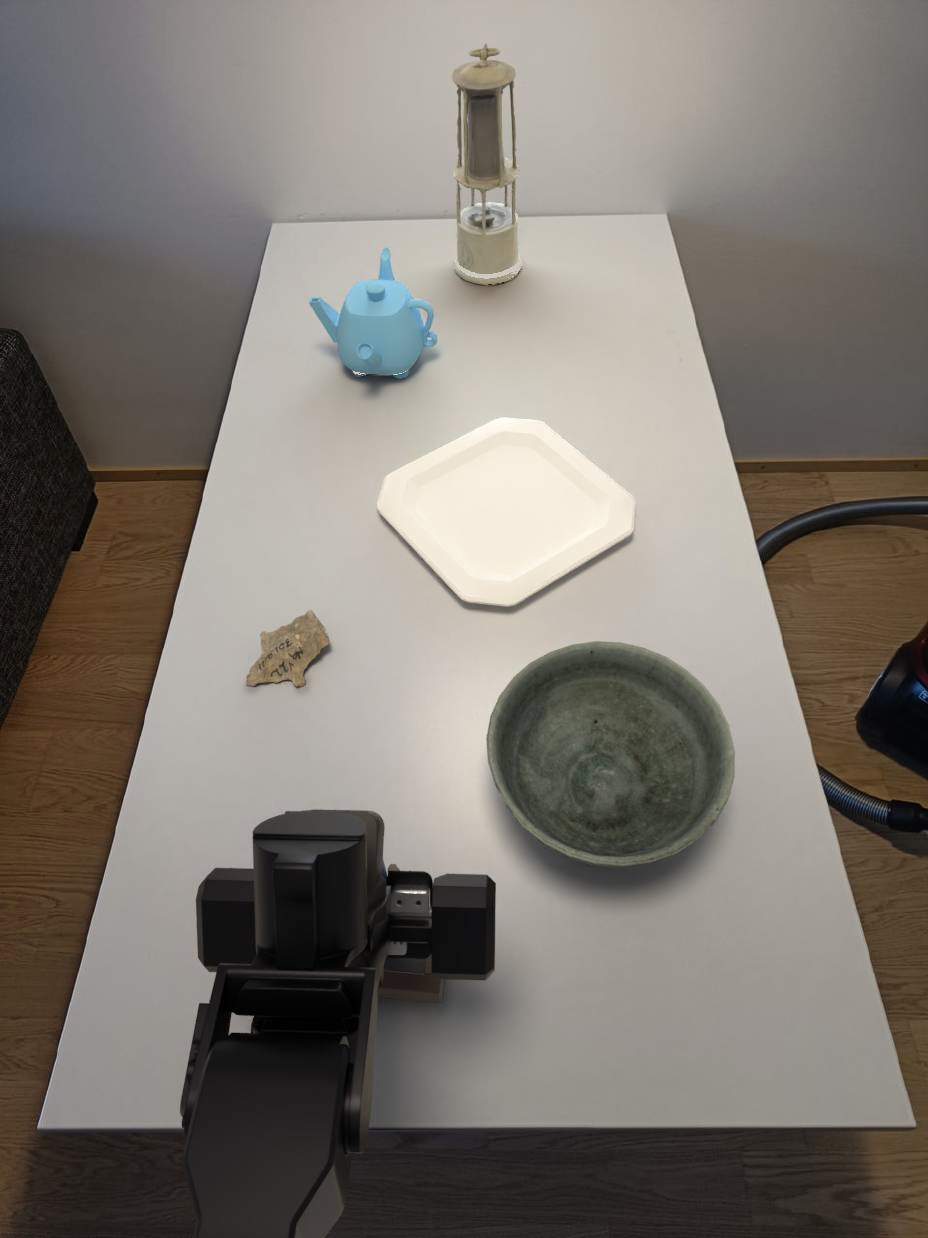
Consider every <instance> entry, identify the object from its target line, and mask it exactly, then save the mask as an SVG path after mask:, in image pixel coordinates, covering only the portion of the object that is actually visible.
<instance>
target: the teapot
mask: <svg viewBox="0 0 928 1238" xmlns="http://www.w3.org/2000/svg"><path fill="white" fill-rule="evenodd" d="M391 259H392V258H391V250H390V249H389V248H388V247H384V248H383V249H382V251H381V253H380V259H379V260H380V263H379V273H378V279H363V280H359V281H358V282H356V283H355V284H354V285H352V287H351V288H350V289H349V291H348V292H347V294H346V296H345V299H344V301H343V304H342V306H341V309H340V313H339V312H338V311H337V310H335V309H334V307H332V306H331V305H330V304H328V303H327V302H326V301H325V300H323V299H322V297H321V296H319V297H318V296H317V297H310V299H309V301H308V304H309V306H310V307H311V309H312V311H313V312H314V314H315V315H316V317H317V319H318V321H320V323H321V324H322V326H323V327H324V329H325V331H326V332H327V334H328V336H329V337H330V339H331V340H332V341H333V343H336V346H337V353H338V356H339V358H340V360H341V362H342V363H343V364H344V365H345V366H346V367H347V369H349V370H350V369H351V370H350V371H352V370H353V371H355V372H360V373H365V374H367V373H368V374H378V375H377V376H389V375H388V374H398V375H392V376H393V378H395V379H398V380H399V379H400V380H401V379H405V378H407V377H408V376H409V374H410V371H409V370H410V369H411V368H412V367H413V366H414V364H415V363H416V362H417V360H418V359H419V357H420V355H421V354H422V352H423V350H424V347H425V348H432V347H435V346H436V345H437V344H438V335H437V334H436V333H435V332H434V331H430V330H431V328H432V325H433V321H434V317H435V314H434V312H435V311H434V307H433V306H432V305H431V303H430V302H428V301H426V300H424V299H422V298H415V297H414V296H413V294H412V292H411V291H410V290H409V289H408V287H407V286H406V285H405V283H403V282H402V281H398V280H395V276H394V273H393V269H392V262H391ZM420 309H422V310H424V311H425V312H426V313H427V316H426V317H427V318H426V321H425V324H424V320H423V318H422V314H421V310H420ZM412 365H413V366H412ZM409 368H410V369H409ZM408 369H409V370H408ZM407 370H408V371H407ZM353 371H352V372H353ZM405 371H406V372H405ZM403 372H404V373H403ZM360 373H359V374H360ZM399 373H402V374H399ZM365 374H361V375H358V374H356V375H357V376H356V377H357V378H361V376H362V375H365ZM380 374H382V375H380ZM365 376H366V375H365Z"/></svg>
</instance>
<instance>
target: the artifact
mask: <svg viewBox="0 0 928 1238" xmlns="http://www.w3.org/2000/svg"><path fill="white" fill-rule="evenodd" d="M259 636H260V650H261V653H260V656H259V658H258V659H257V660H256V662H254V664H253V665H252V666H251V667H250V668H249V671H248V674H247V675H246V677H245V678H246V679H245V680H246V681H245V684H246V686H249V687H255V686H256V685H258V684H265V683H275V684H279V683H280V682H282V681H286V680H290V681H291V683H292V684H293V685H294V686H295V687H296V688H301V687H304V686H305V685H306V678H305V676H304V673H305V670H306V669H307V668H308V666H309V664H310V663H311V662H312V661H313V660H314V659H316V658H317V656H318V655H319V654H320V653H321V650H322V649H324V648H326V647H327V646H329V645H330V644H331V642H330V637H329V636H328V632H327V631H326V628H325V625H324V624H323V623H322V622H321V620H319V618H318V617H317V615H316V614H315V613H314V611H313V610H312V609H308V610H307V612H305V614H303V615H300V616H297V617H295V618H294V619H293V621H292V622H291V623H288V624H286V625H282V626H280V627H279V628H277V629H275V630H274V631H271V632H270V631H269V632H268V631H266V630H264V631H261V632H260V634H259Z"/></svg>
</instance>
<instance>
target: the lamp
mask: <svg viewBox="0 0 928 1238" xmlns="http://www.w3.org/2000/svg"><path fill="white" fill-rule="evenodd" d="M500 54H501V50H500V49H499V48H497V47H488V43H486V42H485V43H484V45H483V47H482V48H478V49H474V50H469V51H468V55H469V57H474V58H479V60H474V61H469V62H466V63H463V64H461V65H458V66H457V67H455V68H454V69H453V71H452V73H451V80H452V82H453V83H454V84H455V86H456V87H457V89H456V94H457V106H458V108H457V109H458V110H457V114H458V115H457V119H456V125H457V134H456V135H457V136H456V141H457V149H458V153H457V157H458V159H457V164H456V165H455V167H454V169H453V177H454V179H455V181H456V203H455V204H456V258H455V261H454V267H453V268H454V272H455V273H456V274H457V276H458V277H459V278H461V279H462V280H464V281H465V282H469V283H472V284H476V285H482V286H489V285H488V284H492V285H491V286H493V285H496V284H495V283H499V284H503V283H502V282H504V283H507V282H509V281H511V280H513V279H514V278H515V277H517V276H518V275H519V274H511V273H513V272H511V273H509V274H507V275H504V276H501V277H497V278H489V279H484V278H475V277H471V276H468V275H466V274H465V273H463V272H462V271H461V270H459V268H458V267H457V265H456V260H457V261H458V263H459V265H460V266H462V267H463V268H465V269H467V270H469V271H471V272H475V273H477V274H478V273H479V274H493V273H498V272H502V271H504V270H506V269H509V268H510V267H512V266H514V265H515V264H516V263H517V262H518V258H519V259H520V262H519V265H518V267H521V266H522V267H523V263H522V259H521V257H520V253H519V252H520V251H519V249H520V248H519V245H520V243H519V215H518V212H517V211H516V210H517V209H516V203H517V202H516V201H517V200H516V181H517V178H518V176H519V175H520V169H519V166H518V164H517V156H516V151H517V149H516V145H517V144H516V142H517V129H516V114H515V106H514V88H515V81H514V80H515V78H516V75H517V73H516V69H515V67H514V66H513V65H511V64H509V63H507V62H505V61H500V60H497V59H494V60H493V59H488V58H490V57H496V56H498V55H500ZM522 84H523V85H524V82H522ZM507 87H509V98H510V118H511V144H512V145H511V146H512V147H511V148H512V149H511V150H512V153H511V154H512V159H511V158H510V159H509V158H507V157H505V155H504V145H503V143H504V142H503V101H502V100H503V94H504V90H505V89H506V88H507ZM462 97H463V98H462ZM462 99H463V119H462ZM462 120H463V121H462ZM462 123H463V124H462ZM462 125H463V139H462ZM462 140H463V141H462ZM462 155H463V157H462ZM463 158H464V160H462V159H463ZM461 185H462V186H464V187H465V188H467V189H470V202H471V203H470V205H468V206H466V207H464V208H463V209H462V210H461V190H462V188H461V187H462V186H461ZM509 185H511V206H509ZM460 186H461V187H460ZM497 188H499V189H501V188H504V203H501V202H495V201H487V199H486V198H487V194H486V193H487V192H488V191H492V190H494V189H497ZM475 190H477V191H479V192H480V196H481V202H477V203H475V193H476V192H475ZM517 269H518V268H517ZM521 271H522V269H521V270H520V272H521ZM515 272H518V271H515ZM512 276H515V277H512ZM508 277H509V278H508ZM510 278H512V279H510Z"/></svg>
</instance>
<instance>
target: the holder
mask: <svg viewBox="0 0 928 1238" xmlns="http://www.w3.org/2000/svg"><path fill="white" fill-rule="evenodd" d="M383 974H384V977H383V981H382V985H381V986H379V985H378V989H377V999H390V1000H401V1001H411V1002H412V1001H413V1002H422V1003H423V1002H424V1003H435V1004H442V1000H443V991H444V980H445V979H433V978H432V973H431V955H430V956H429V957H428V958H426V959H424V968H423V973H420V972H419V973H417V972H407V971H396V970H386V969H385V970H384V969H383Z"/></svg>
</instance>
